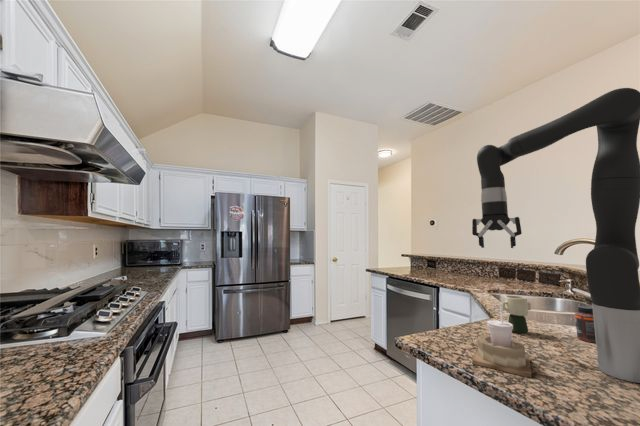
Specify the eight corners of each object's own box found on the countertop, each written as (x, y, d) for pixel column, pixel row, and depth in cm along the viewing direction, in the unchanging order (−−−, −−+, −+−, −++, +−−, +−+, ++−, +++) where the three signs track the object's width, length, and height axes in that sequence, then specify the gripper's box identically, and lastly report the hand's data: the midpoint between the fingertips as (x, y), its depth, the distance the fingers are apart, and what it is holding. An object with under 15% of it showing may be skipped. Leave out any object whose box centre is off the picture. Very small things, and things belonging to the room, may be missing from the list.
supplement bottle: (606, 343, 90) (602, 309, 91) (588, 343, 90) (585, 309, 92) (589, 337, 96) (586, 305, 97) (572, 337, 96) (569, 304, 97)
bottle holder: (529, 359, 77) (527, 340, 78) (531, 377, 67) (529, 355, 68) (477, 349, 85) (476, 331, 86) (472, 363, 75) (471, 343, 75)
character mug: (525, 328, 105) (522, 295, 107) (539, 335, 98) (537, 298, 100) (497, 328, 105) (495, 295, 107) (510, 334, 98) (507, 298, 100)
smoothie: (515, 365, 72) (511, 311, 73) (487, 359, 75) (484, 308, 77) (516, 357, 77) (512, 307, 78) (489, 351, 81) (486, 304, 82)
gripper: (518, 201, 93) (522, 248, 91) (472, 204, 101) (474, 247, 100) (519, 198, 87) (523, 248, 85) (469, 202, 95) (472, 247, 93)
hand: (497, 247), depth 92 cm, fingers open, 8 cm apart
